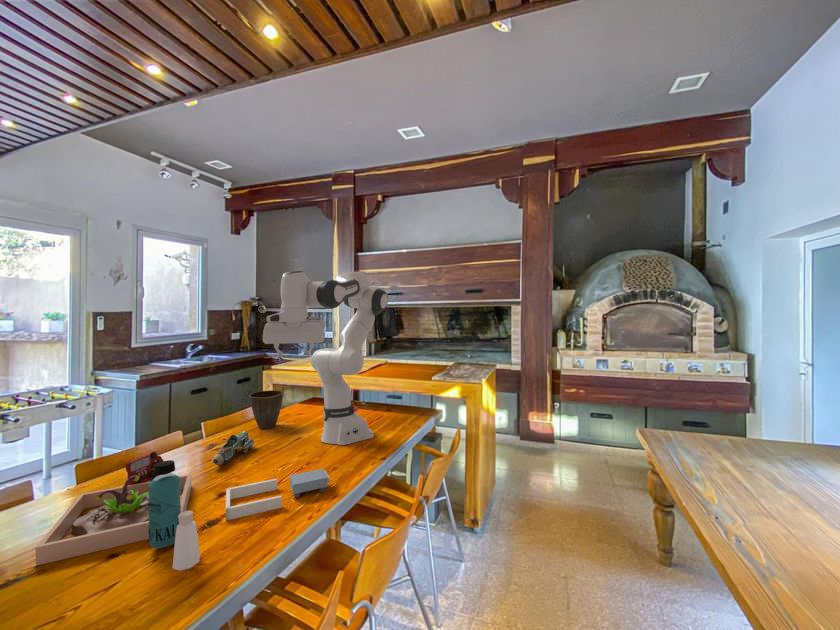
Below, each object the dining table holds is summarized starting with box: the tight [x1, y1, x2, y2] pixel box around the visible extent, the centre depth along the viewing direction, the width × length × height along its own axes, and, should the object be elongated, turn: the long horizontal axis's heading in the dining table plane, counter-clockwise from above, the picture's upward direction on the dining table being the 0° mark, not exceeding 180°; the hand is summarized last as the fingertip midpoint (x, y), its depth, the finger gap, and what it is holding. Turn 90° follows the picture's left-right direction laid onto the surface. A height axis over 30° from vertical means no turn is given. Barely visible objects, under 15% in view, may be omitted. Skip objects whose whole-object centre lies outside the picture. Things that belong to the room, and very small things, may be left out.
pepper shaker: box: [172, 510, 201, 572], centre depth 82 cm, size 5×5×11 cm
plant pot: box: [249, 389, 284, 430], centre depth 178 cm, size 15×15×16 cm
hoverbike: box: [211, 430, 255, 466], centre depth 142 cm, size 10×25×8 cm, turn 1°
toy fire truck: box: [125, 451, 164, 485], centre depth 118 cm, size 7×12×10 cm, turn 167°
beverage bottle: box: [148, 459, 182, 549], centre depth 88 cm, size 6×7×20 cm
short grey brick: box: [289, 468, 331, 499], centre depth 114 cm, size 11×7×4 cm, turn 117°
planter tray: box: [35, 473, 193, 567], centre depth 100 cm, size 27×27×4 cm
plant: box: [71, 476, 149, 536], centre depth 100 cm, size 20×20×11 cm
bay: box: [225, 478, 283, 522], centre depth 107 cm, size 14×13×3 cm
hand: (294, 356), depth 129 cm, fingers open, 8 cm apart
